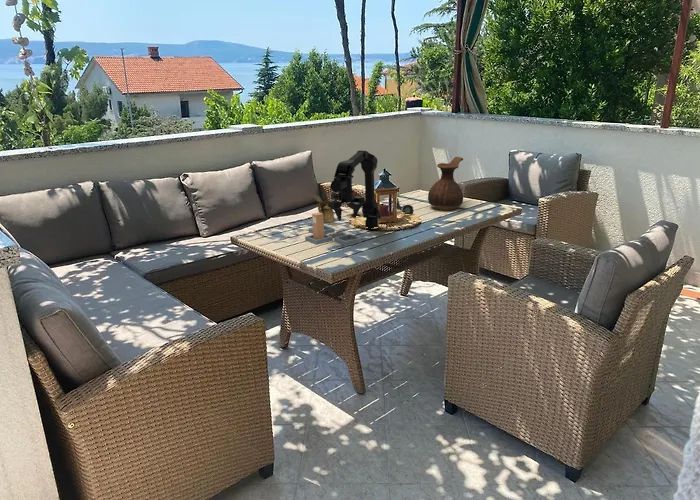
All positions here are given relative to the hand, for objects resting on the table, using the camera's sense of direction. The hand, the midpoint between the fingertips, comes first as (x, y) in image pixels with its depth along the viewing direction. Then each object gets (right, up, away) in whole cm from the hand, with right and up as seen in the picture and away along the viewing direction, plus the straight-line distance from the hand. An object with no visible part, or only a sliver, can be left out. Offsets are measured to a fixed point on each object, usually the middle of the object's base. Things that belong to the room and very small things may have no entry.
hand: (347, 219), depth 275 cm
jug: (+60, +10, +65) cm, 89 cm away
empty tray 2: (0, -11, +4) cm, 12 cm away
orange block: (-14, -10, +7) cm, 19 cm away
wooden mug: (-13, +1, +43) cm, 45 cm away
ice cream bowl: (+5, +5, +53) cm, 54 cm away
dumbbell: (+32, +8, +61) cm, 70 cm away
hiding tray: (-14, -11, +7) cm, 19 cm away
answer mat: (-5, -8, +14) cm, 17 cm away
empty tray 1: (-14, -6, +22) cm, 26 cm away
